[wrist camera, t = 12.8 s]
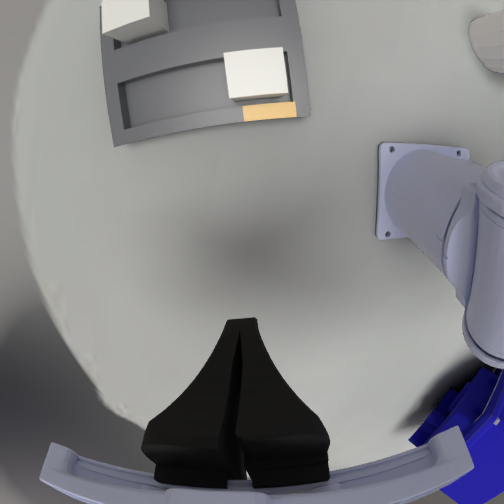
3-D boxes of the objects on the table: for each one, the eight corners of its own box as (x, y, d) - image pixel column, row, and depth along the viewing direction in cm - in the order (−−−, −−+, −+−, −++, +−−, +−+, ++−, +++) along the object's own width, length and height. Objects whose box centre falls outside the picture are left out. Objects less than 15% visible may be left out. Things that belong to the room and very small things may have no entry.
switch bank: (284, -20, 12) (288, -35, 10) (304, 115, 18) (311, 116, 15) (113, 14, 13) (98, 6, 11) (128, 142, 19) (113, 147, 16)
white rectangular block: (166, 3, 12) (147, -17, 9) (169, 32, 14) (149, 16, 10) (127, 16, 13) (101, 1, 9) (129, 44, 14) (102, 33, 10)
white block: (276, 60, 15) (282, 47, 11) (281, 97, 16) (288, 92, 12) (230, 65, 15) (223, 53, 11) (234, 101, 16) (229, 98, 13)
